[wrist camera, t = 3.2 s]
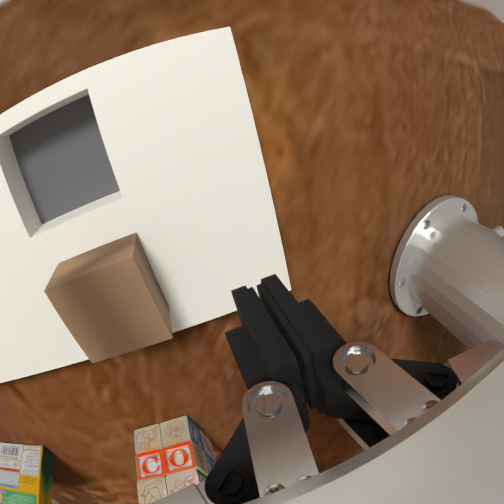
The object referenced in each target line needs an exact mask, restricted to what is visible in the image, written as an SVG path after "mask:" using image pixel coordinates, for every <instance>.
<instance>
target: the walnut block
mask: <svg viewBox="0 0 504 504" xmlns="http://www.w3.org/2000/svg"><path fill="white" fill-rule="evenodd" d="M44 292H45V293H46V295H47V297H48V299H49V300H50V302H51V303H52V305H53V307H54V308H55V310H56V312H57V313H58V315H59V316H60V318H61V319H62V321H63V322H64V324H65V325H66V327H67V328H68V330H69V331H70V333H71V334H72V336H73V337H74V339H75V340H76V342H77V343H78V344H79V346H80V347H81V349H82V350H83V351H84V353H85V354H86V356H87V357H88V358H89V360H90V361H91V362H92V363H95V362H98V361H102V360H105V359H108V358H112V357H115V356H118V355H122V354H125V353H128V352H131V351H135V350H138V349H141V348H144V347H147V346H150V345H153V344H157V343H160V342H163V341H166V340H169V339H172V338H173V335H172V327H171V319H170V310H169V305H168V303H167V301H166V298H165V296H164V294H163V292H162V290H161V288H160V286H159V283H158V281H157V279H156V277H155V275H154V272H153V270H152V268H151V266H150V263H149V261H148V259H147V256H146V254H145V252H144V249H143V247H142V245H141V242H140V240H139V237H138V235H137V233H133V234H130V235H128V236H125V237H123V238H120V239H117V240H115V241H112V242H110V243H107V244H104V245H102V246H99V247H97V248H94V249H92V250H89V251H87V252H84V253H82V254H79V255H77V256H75V257H72V258H70V259H67V260H65V261H62V262H60V263H59V264H58V265H57V267H56V269H55V271H54V273H53V275H52V277H51V278H50V280H49V282H48V284H47V286H46V288H45V290H44Z"/></svg>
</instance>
